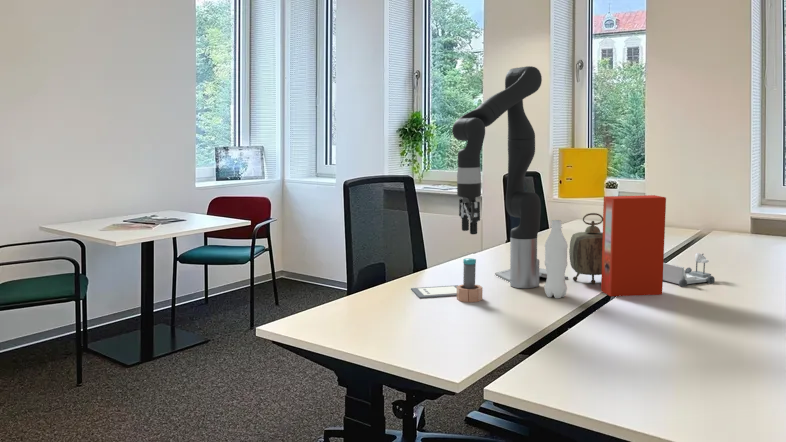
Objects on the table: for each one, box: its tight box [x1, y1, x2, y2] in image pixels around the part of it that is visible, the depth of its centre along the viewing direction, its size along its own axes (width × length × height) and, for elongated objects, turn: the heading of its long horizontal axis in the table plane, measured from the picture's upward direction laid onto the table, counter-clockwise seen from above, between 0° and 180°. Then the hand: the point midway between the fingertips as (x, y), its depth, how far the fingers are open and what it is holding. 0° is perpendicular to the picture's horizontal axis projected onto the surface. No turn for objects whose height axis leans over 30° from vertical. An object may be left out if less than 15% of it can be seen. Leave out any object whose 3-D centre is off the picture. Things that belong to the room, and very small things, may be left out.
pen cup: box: [456, 284, 483, 303], centre depth 203 cm, size 8×8×4 cm
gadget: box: [494, 267, 569, 283], centre depth 234 cm, size 22×6×15 cm
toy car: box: [663, 252, 715, 288], centre depth 222 cm, size 18×10×12 cm
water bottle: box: [543, 219, 569, 299], centre depth 203 cm, size 7×7×25 cm
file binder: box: [600, 194, 667, 298], centre depth 205 cm, size 8×17×32 cm, turn 95°
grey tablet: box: [410, 284, 459, 299], centre depth 213 cm, size 17×13×1 cm
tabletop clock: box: [568, 212, 603, 285], centre depth 221 cm, size 14×9×25 cm, turn 84°
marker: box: [462, 258, 477, 289], centre depth 202 cm, size 4×4×12 cm
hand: (469, 232), depth 200 cm, fingers open, 8 cm apart
